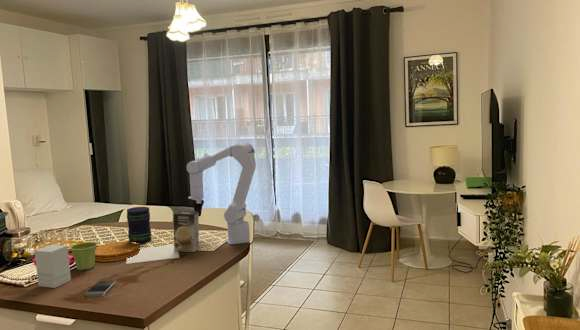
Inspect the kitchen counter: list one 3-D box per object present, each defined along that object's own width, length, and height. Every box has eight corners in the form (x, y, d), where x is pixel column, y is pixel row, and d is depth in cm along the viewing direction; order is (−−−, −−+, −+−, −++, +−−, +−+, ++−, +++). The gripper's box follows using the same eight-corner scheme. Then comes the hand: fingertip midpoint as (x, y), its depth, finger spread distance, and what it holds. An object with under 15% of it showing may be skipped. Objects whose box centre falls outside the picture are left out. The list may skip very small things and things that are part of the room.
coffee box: (173, 251, 178) (172, 213, 177) (178, 247, 185) (177, 210, 183) (194, 252, 178) (194, 214, 176) (199, 247, 184) (198, 211, 182)
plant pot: (65, 270, 160) (63, 248, 159) (85, 262, 169) (83, 241, 168) (85, 273, 157) (83, 250, 156) (104, 264, 166) (102, 242, 165)
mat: (176, 245, 189) (176, 244, 189) (179, 257, 172) (179, 257, 172) (128, 250, 183) (128, 249, 183) (126, 264, 166) (125, 263, 166)
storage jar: (143, 236, 203) (140, 205, 201) (156, 240, 197) (154, 208, 196) (124, 242, 195) (121, 210, 193) (137, 245, 189) (134, 212, 188)
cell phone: (116, 284, 148) (116, 280, 147) (104, 297, 137) (103, 293, 136) (98, 284, 147) (98, 280, 147) (84, 298, 136) (84, 294, 136)
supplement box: (71, 280, 151) (68, 245, 149) (54, 288, 144) (50, 252, 142) (55, 278, 153) (52, 243, 152) (37, 286, 146) (33, 250, 145)
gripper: (186, 185, 201) (188, 213, 203) (189, 190, 188) (190, 220, 189) (201, 184, 203) (203, 212, 205) (205, 188, 190) (206, 219, 191)
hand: (198, 216), depth 197 cm, fingers closed
